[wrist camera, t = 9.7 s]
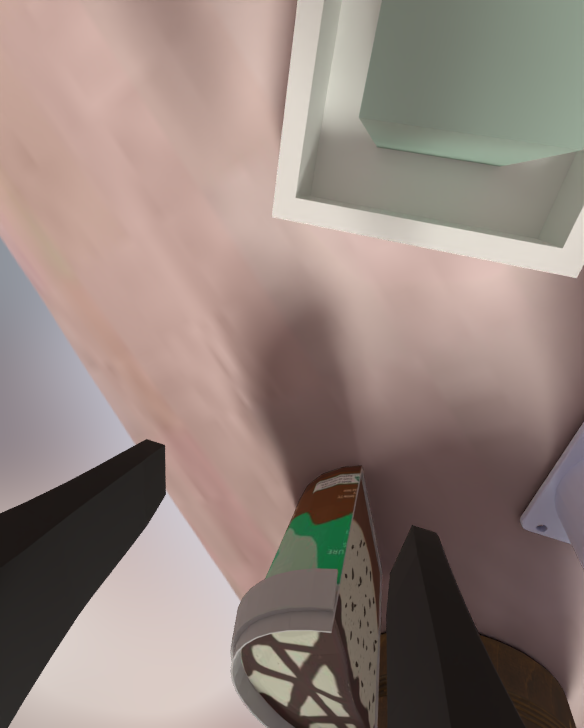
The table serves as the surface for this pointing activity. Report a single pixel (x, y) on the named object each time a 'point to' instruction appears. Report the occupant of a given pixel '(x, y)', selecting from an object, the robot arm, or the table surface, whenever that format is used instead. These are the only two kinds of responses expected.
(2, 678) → the robot arm
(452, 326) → the table surface
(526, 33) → the green block
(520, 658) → the wooden container
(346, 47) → the bin
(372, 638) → the food container
